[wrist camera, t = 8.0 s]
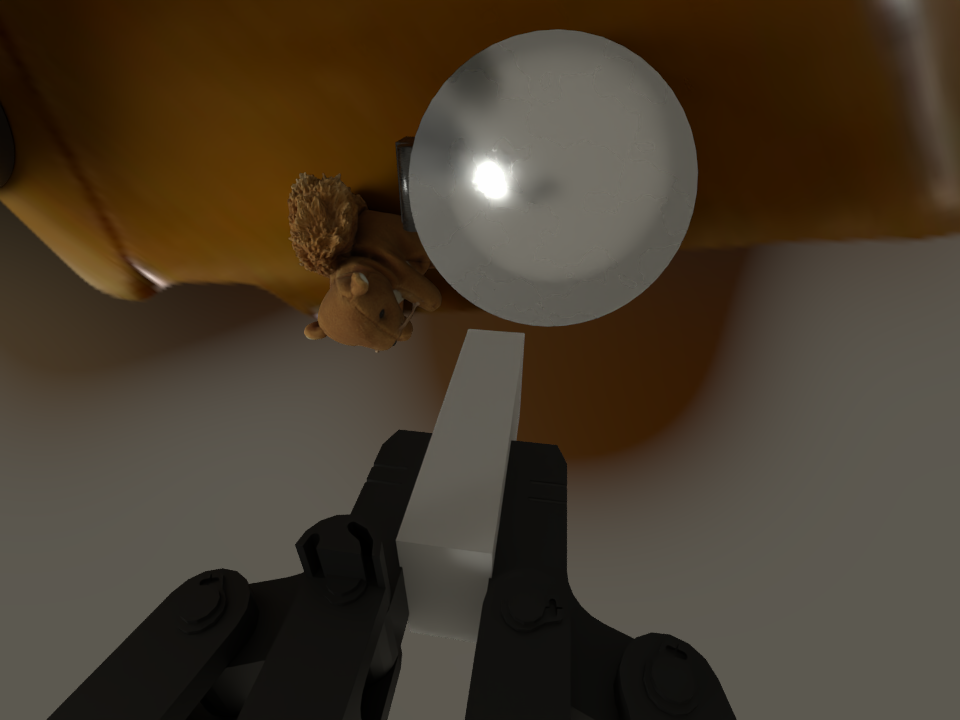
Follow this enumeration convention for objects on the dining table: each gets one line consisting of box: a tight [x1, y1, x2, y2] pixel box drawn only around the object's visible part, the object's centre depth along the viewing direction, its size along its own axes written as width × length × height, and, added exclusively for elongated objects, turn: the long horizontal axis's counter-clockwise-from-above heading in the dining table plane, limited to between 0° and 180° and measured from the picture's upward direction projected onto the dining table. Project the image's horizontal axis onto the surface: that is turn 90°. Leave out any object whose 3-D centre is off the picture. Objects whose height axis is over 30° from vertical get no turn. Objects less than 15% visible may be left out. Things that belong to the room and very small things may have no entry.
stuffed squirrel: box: [288, 173, 442, 352], centre depth 37 cm, size 10×14×13 cm
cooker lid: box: [397, 29, 698, 326], centre depth 25 cm, size 15×15×1 cm
